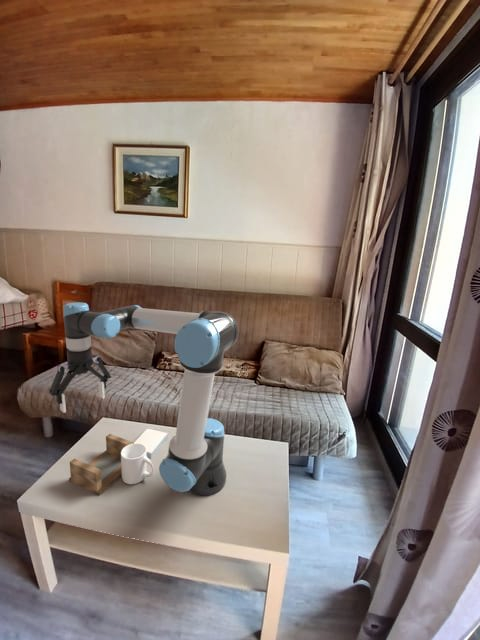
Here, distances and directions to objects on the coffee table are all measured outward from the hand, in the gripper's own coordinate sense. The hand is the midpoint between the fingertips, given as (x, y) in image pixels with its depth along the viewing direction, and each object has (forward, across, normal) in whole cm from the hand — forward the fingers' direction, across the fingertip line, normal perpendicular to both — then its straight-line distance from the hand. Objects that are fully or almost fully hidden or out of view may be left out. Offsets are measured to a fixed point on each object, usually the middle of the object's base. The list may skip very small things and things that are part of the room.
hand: (83, 403), depth 110 cm
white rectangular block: (+25, -22, +7) cm, 34 cm away
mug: (+25, -9, +20) cm, 33 cm away
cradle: (+25, -2, +8) cm, 26 cm away
